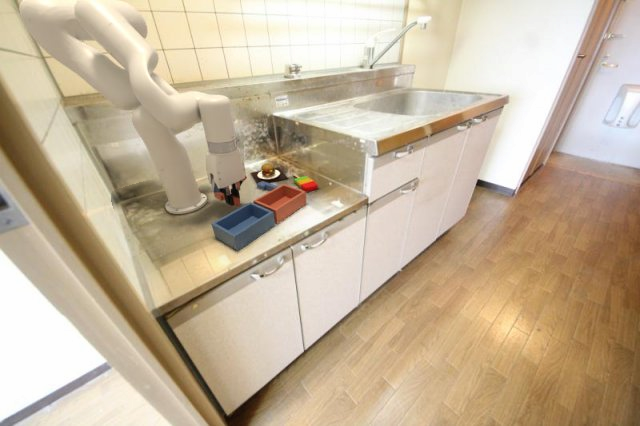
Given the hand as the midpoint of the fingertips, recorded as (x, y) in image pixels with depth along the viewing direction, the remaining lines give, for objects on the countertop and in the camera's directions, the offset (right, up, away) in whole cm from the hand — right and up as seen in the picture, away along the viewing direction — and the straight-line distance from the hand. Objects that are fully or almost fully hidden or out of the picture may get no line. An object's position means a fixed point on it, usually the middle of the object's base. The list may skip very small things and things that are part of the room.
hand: (233, 202), depth 79 cm
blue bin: (+6, -8, -7) cm, 13 cm away
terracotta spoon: (-2, +1, +1) cm, 3 cm away
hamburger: (+6, +11, +23) cm, 27 cm away
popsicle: (+20, +8, +18) cm, 28 cm away
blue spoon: (+9, +5, +13) cm, 17 cm away
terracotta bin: (+15, -2, +2) cm, 15 cm away
